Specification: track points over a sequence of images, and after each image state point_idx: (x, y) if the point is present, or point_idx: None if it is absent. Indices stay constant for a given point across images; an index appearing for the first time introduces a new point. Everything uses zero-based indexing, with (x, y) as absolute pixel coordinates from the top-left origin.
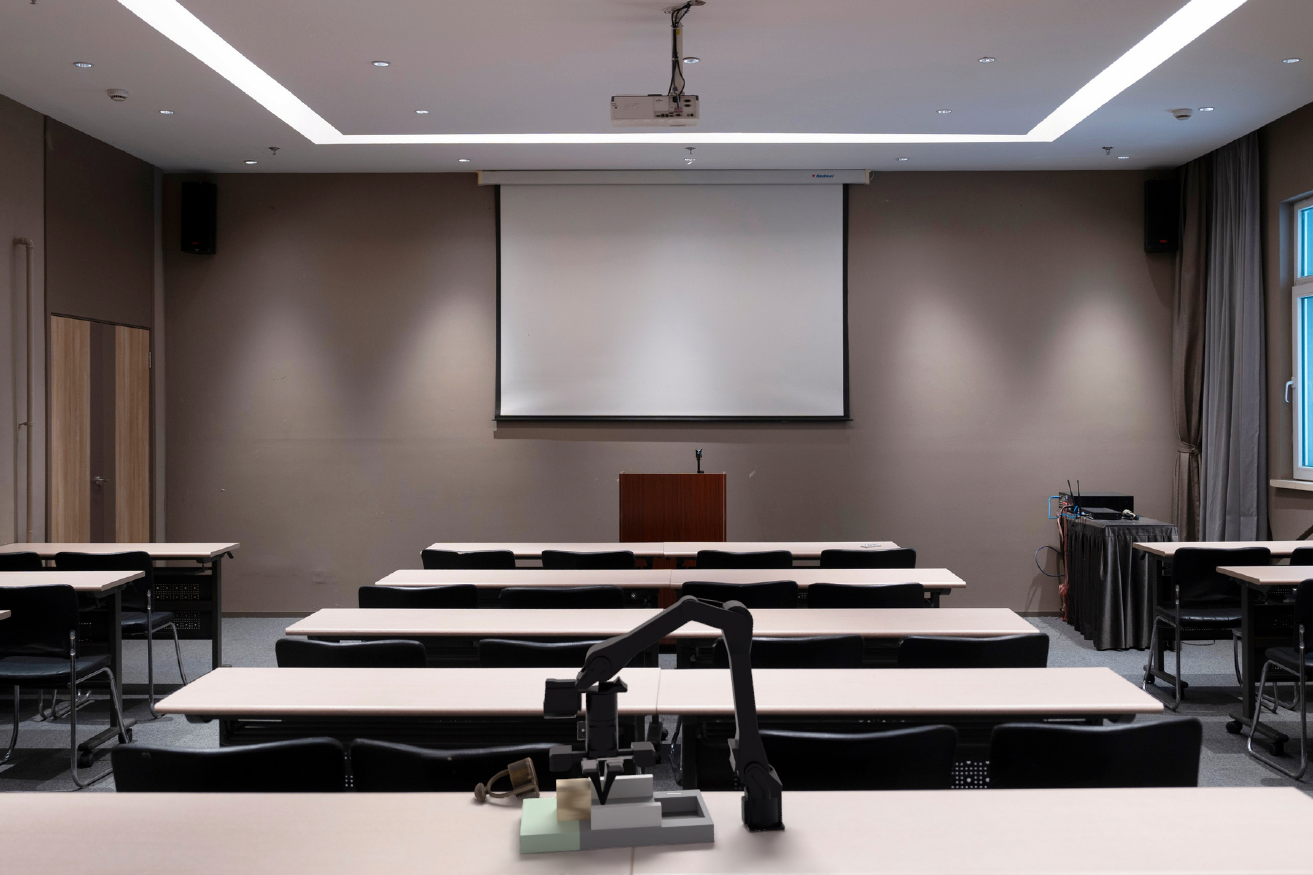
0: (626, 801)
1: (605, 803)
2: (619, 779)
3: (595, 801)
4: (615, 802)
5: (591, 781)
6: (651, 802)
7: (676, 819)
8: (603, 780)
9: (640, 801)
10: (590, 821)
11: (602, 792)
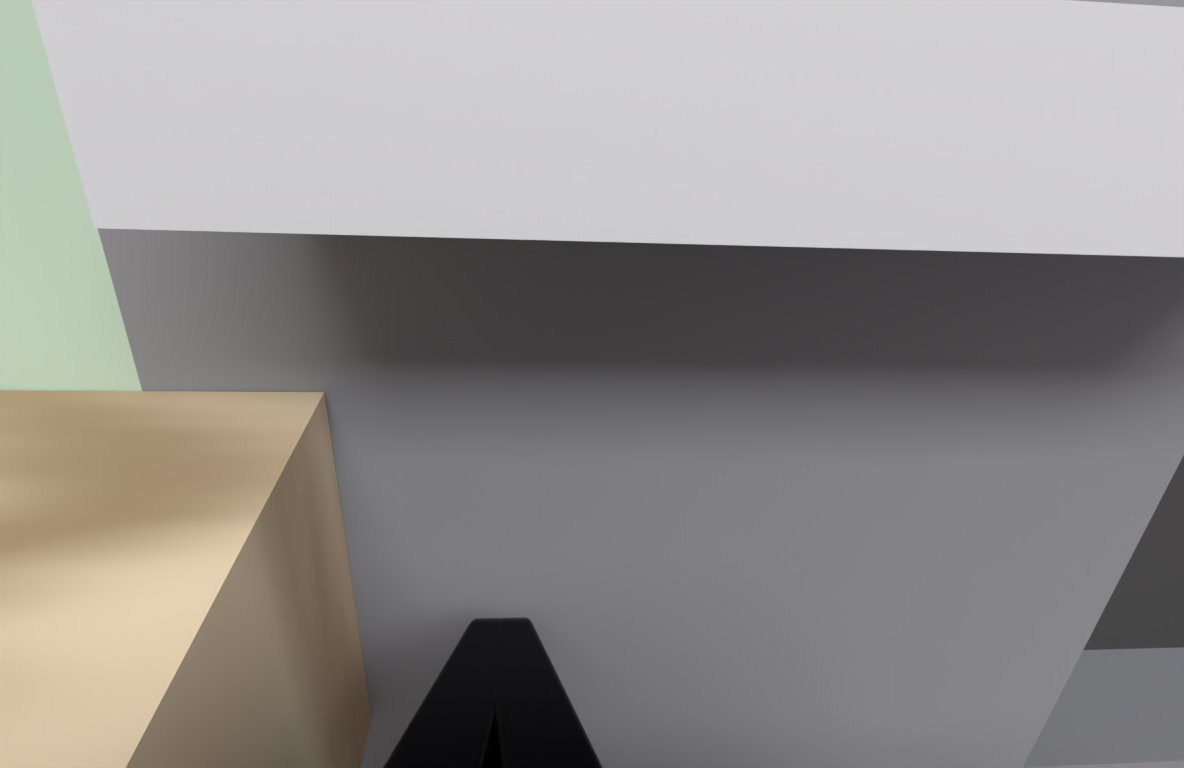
0: (871, 315)
1: (558, 338)
2: (983, 250)
3: (403, 237)
4: (709, 325)
5: (205, 212)
6: (1169, 395)
7: (1159, 764)
8: (553, 233)
9: (1055, 338)
10: (366, 750)
11: (495, 743)
